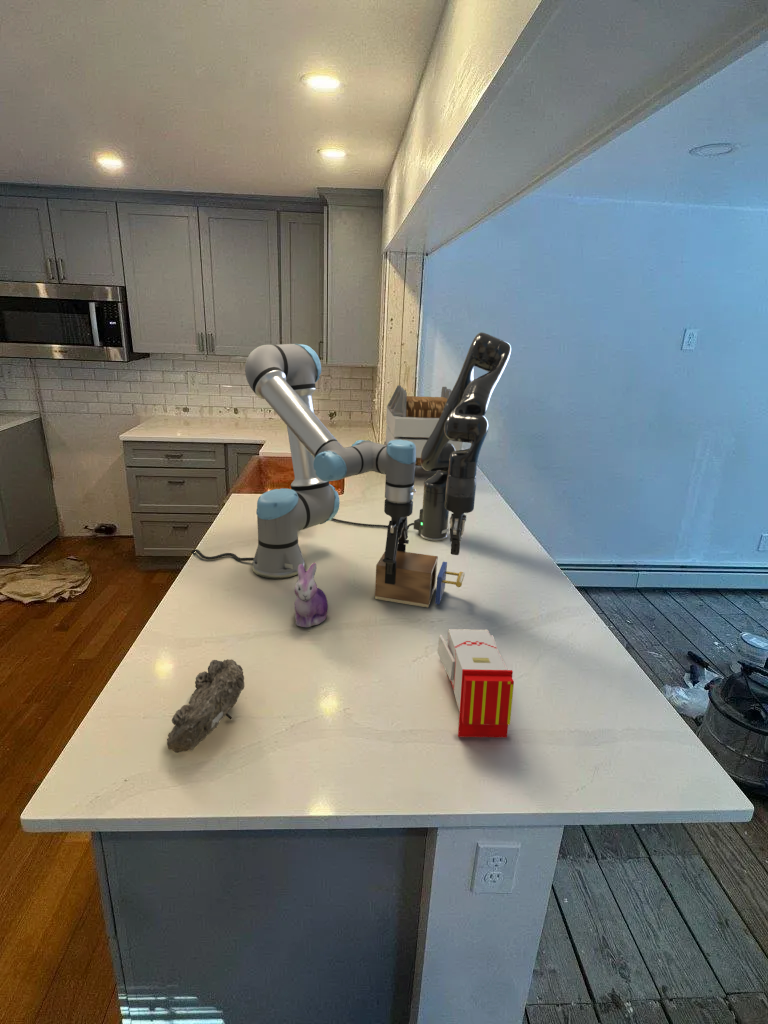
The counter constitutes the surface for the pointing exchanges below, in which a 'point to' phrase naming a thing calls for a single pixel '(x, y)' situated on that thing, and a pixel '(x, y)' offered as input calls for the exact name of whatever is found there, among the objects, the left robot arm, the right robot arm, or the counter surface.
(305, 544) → the counter surface
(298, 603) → the figurine
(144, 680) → the counter surface
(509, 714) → the toy
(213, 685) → the fossil
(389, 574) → the left robot arm
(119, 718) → the counter surface
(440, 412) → the transformer
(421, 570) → the cabinet
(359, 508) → the counter surface
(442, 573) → the drawer
